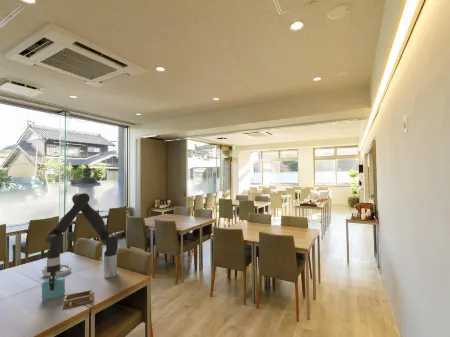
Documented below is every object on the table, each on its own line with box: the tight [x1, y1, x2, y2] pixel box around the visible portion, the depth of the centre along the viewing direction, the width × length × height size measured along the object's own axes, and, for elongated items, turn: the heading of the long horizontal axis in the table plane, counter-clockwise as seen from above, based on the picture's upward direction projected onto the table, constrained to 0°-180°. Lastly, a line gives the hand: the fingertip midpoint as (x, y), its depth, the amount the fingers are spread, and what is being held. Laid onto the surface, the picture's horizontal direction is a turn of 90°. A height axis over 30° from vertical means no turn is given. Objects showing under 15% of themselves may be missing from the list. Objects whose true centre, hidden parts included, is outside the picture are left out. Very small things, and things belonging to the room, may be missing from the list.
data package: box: [41, 276, 66, 301], centre depth 161 cm, size 12×4×12 cm, turn 112°
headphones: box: [41, 263, 72, 278], centre depth 198 cm, size 18×8×20 cm
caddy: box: [62, 289, 94, 310], centre depth 156 cm, size 14×16×6 cm
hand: (53, 287), depth 161 cm, fingers open, 8 cm apart
